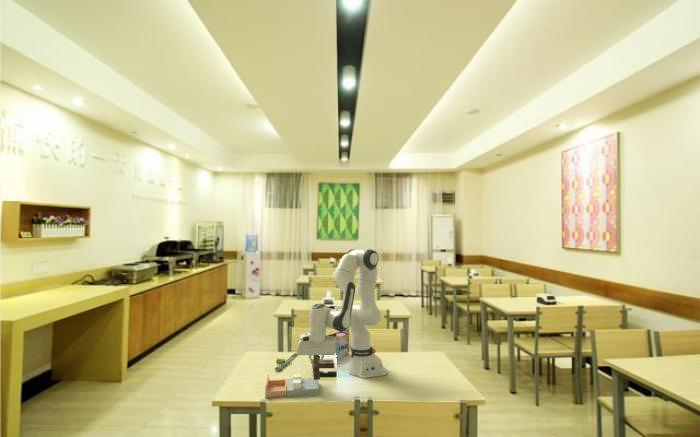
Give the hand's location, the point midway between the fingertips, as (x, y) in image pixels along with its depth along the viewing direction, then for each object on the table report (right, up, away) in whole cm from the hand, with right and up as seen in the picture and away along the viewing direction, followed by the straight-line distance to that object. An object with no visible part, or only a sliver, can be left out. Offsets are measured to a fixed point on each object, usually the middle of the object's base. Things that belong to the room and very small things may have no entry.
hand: (316, 363), depth 177 cm
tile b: (-9, -10, -5) cm, 15 cm away
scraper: (0, -5, 0) cm, 5 cm away
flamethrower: (-23, -15, +35) cm, 44 cm away
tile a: (-10, -10, +2) cm, 15 cm away
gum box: (+6, -15, +45) cm, 48 cm away
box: (-20, -13, -3) cm, 24 cm away
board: (-7, -13, -1) cm, 15 cm away
